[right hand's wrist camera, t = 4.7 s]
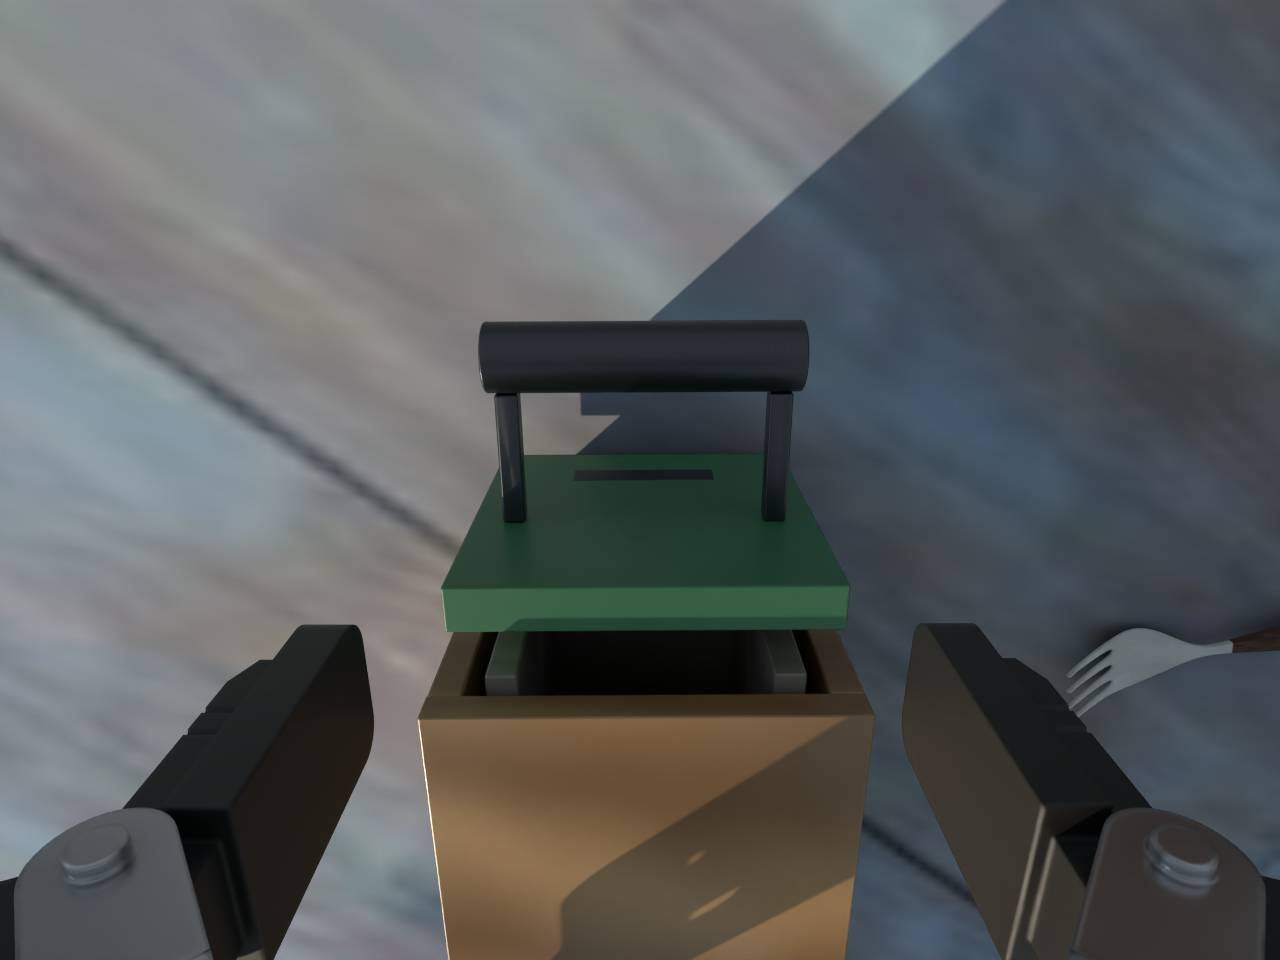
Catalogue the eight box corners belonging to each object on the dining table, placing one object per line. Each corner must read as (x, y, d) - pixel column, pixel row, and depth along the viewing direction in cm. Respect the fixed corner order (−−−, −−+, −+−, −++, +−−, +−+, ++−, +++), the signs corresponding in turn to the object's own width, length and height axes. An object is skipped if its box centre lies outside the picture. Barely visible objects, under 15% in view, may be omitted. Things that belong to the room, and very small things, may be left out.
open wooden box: (497, 521, 29) (415, 717, 18) (789, 519, 29) (876, 715, 18) (522, 855, 34) (472, 1151, 24) (766, 853, 34) (823, 1149, 24)
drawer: (493, 293, 25) (414, 354, 16) (791, 291, 25) (874, 351, 16) (528, 797, 32) (488, 1028, 23) (760, 795, 32) (806, 1026, 23)
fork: (1463, 627, 30) (1518, 656, 28) (1042, 697, 31) (1067, 729, 29) (1475, 567, 29) (1532, 594, 27) (1040, 641, 30) (1067, 672, 28)
